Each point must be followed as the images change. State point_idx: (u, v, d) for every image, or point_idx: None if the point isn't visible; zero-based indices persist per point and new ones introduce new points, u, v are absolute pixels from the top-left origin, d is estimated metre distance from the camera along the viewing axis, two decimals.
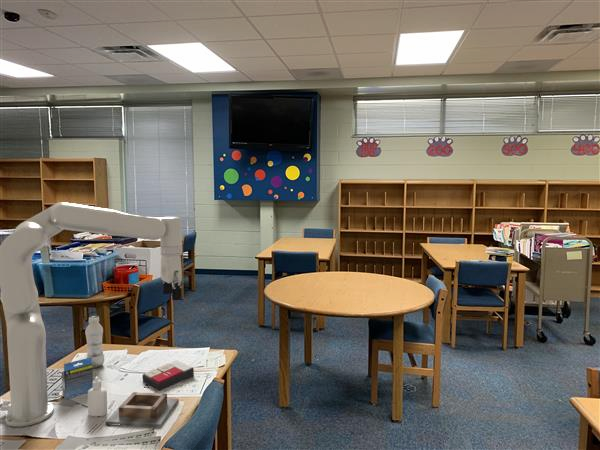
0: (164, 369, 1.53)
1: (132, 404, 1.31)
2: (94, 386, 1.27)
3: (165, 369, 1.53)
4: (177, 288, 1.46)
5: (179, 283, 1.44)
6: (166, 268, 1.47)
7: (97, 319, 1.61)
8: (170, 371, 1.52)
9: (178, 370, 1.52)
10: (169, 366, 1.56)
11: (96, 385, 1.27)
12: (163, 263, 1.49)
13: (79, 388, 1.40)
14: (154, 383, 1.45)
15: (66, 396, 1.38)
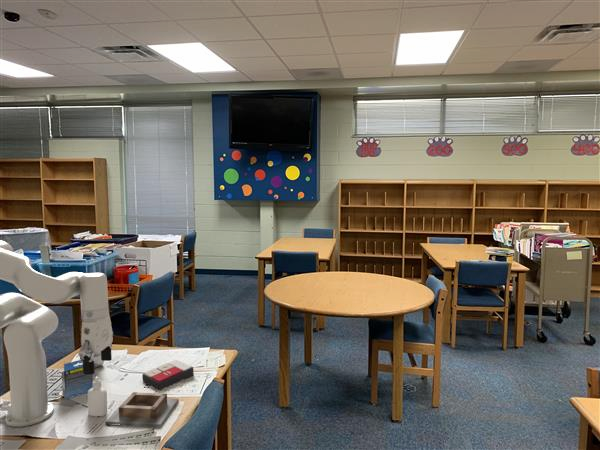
0: (164, 368, 1.54)
1: (132, 404, 1.31)
2: (94, 386, 1.27)
3: (165, 368, 1.54)
4: None
5: None
6: (109, 329, 1.29)
7: None
8: (170, 370, 1.52)
9: (178, 369, 1.53)
10: (169, 365, 1.56)
11: (96, 385, 1.27)
12: (103, 328, 1.26)
13: (79, 388, 1.40)
14: (154, 382, 1.46)
15: (66, 396, 1.38)
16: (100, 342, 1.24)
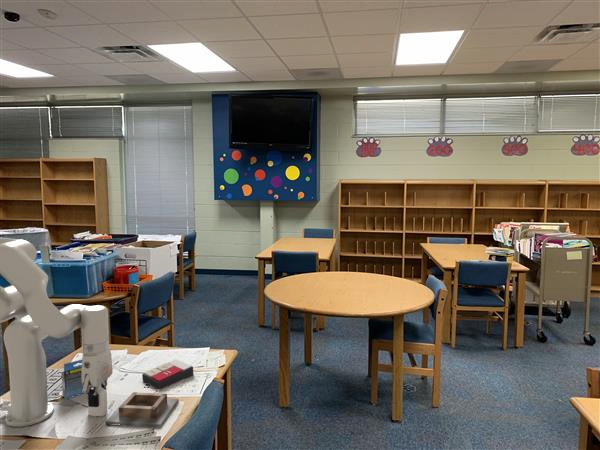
0: (164, 368, 1.54)
1: (132, 404, 1.31)
2: None
3: (165, 368, 1.54)
4: None
5: None
6: (109, 361, 1.30)
7: None
8: (170, 370, 1.53)
9: (178, 369, 1.53)
10: (168, 365, 1.56)
11: None
12: (104, 361, 1.27)
13: (79, 388, 1.40)
14: (154, 382, 1.46)
15: (66, 396, 1.38)
16: (100, 375, 1.25)
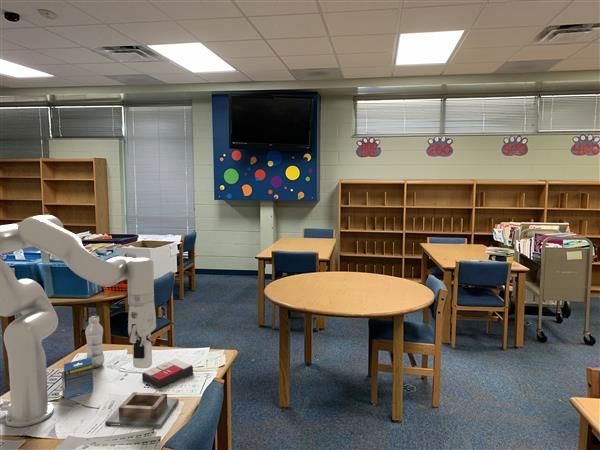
0: (163, 367, 1.55)
1: (132, 404, 1.31)
2: (139, 338, 1.27)
3: (164, 367, 1.55)
4: None
5: None
6: (153, 314, 1.30)
7: (97, 319, 1.61)
8: (170, 369, 1.53)
9: (178, 368, 1.54)
10: (168, 364, 1.57)
11: None
12: (149, 313, 1.27)
13: (79, 388, 1.40)
14: (154, 381, 1.47)
15: (66, 396, 1.38)
16: (146, 326, 1.25)
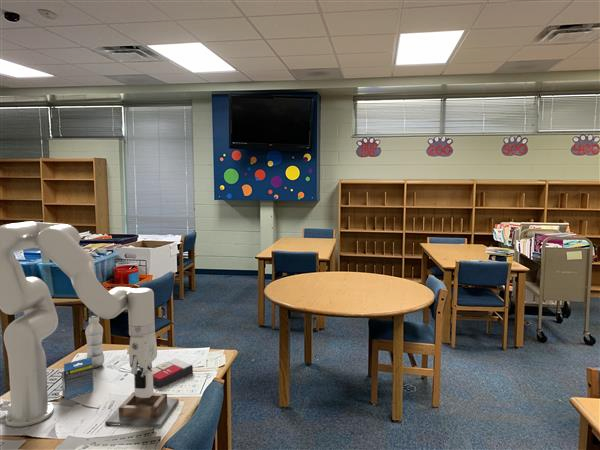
0: (163, 367, 1.55)
1: (132, 404, 1.31)
2: None
3: (164, 367, 1.55)
4: None
5: None
6: (154, 343, 1.31)
7: (97, 319, 1.61)
8: (170, 369, 1.53)
9: (177, 368, 1.54)
10: (168, 364, 1.57)
11: None
12: (150, 343, 1.28)
13: (79, 388, 1.40)
14: (155, 381, 1.47)
15: (66, 396, 1.38)
16: (147, 357, 1.26)
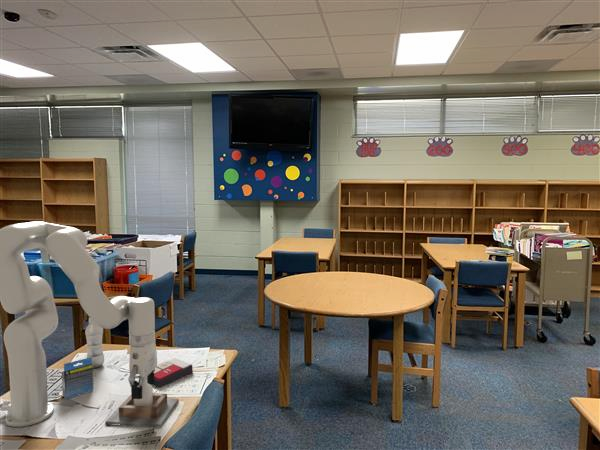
0: (163, 366, 1.55)
1: (132, 404, 1.31)
2: (141, 382, 1.28)
3: (164, 366, 1.55)
4: None
5: None
6: (154, 353, 1.31)
7: None
8: (169, 368, 1.54)
9: (177, 367, 1.55)
10: (168, 363, 1.58)
11: (143, 381, 1.28)
12: (150, 352, 1.28)
13: (79, 388, 1.40)
14: (155, 380, 1.47)
15: (66, 396, 1.38)
16: (147, 367, 1.26)
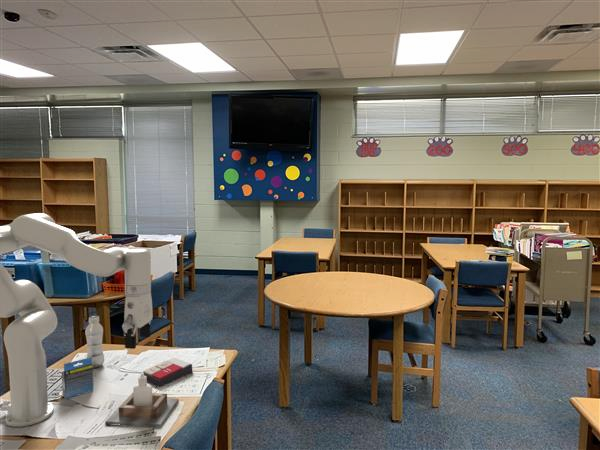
0: (163, 366, 1.56)
1: (132, 404, 1.31)
2: (140, 382, 1.28)
3: (164, 366, 1.56)
4: None
5: None
6: (150, 305, 1.30)
7: (97, 319, 1.61)
8: (169, 368, 1.54)
9: (177, 367, 1.55)
10: (167, 363, 1.58)
11: (142, 381, 1.28)
12: (146, 304, 1.27)
13: (79, 388, 1.40)
14: (155, 380, 1.48)
15: (66, 396, 1.38)
16: (142, 317, 1.25)
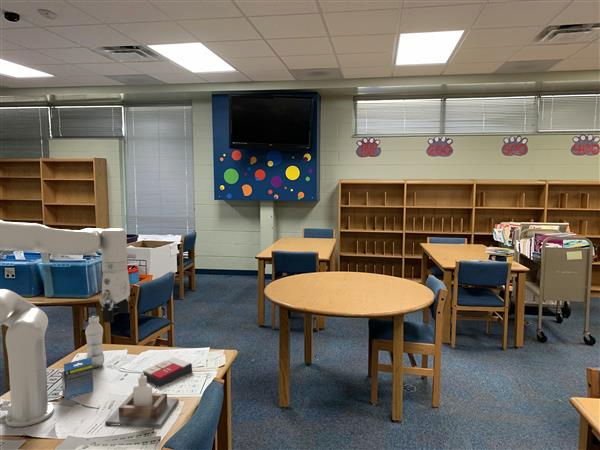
0: (163, 366, 1.56)
1: (132, 404, 1.31)
2: (140, 382, 1.28)
3: (164, 366, 1.56)
4: None
5: None
6: (127, 282, 1.37)
7: (97, 319, 1.61)
8: (169, 367, 1.55)
9: (177, 366, 1.56)
10: (167, 363, 1.59)
11: (142, 381, 1.28)
12: (122, 280, 1.34)
13: (79, 388, 1.40)
14: (155, 379, 1.48)
15: (66, 396, 1.38)
16: (119, 293, 1.32)
